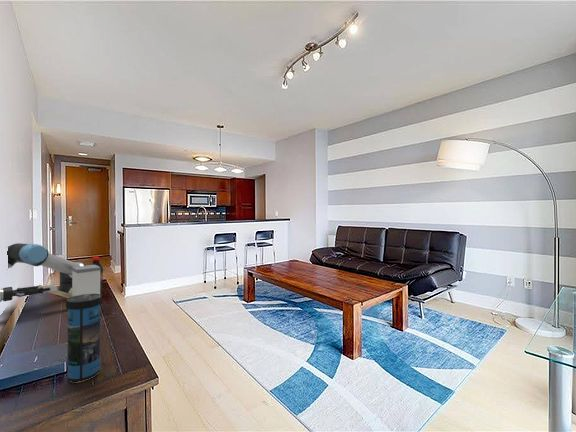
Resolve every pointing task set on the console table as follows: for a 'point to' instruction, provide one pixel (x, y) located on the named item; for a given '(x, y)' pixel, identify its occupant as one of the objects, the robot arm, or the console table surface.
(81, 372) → the advertising column
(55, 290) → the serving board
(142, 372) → the console table surface
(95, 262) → the cola bottle
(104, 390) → the console table surface
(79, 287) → the grey-banded white block
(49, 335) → the console table surface
